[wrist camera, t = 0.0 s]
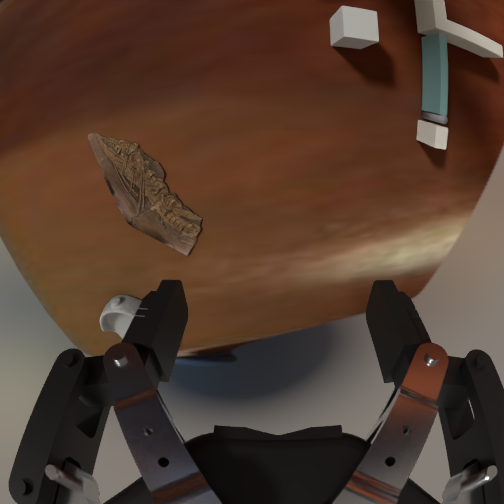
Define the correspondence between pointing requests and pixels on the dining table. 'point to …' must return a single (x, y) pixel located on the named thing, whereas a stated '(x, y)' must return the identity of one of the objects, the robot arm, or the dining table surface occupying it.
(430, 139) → the grey angled piece
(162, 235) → the wooden fragment
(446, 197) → the dining table surface
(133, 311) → the dish
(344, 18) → the block
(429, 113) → the teal long flat block
